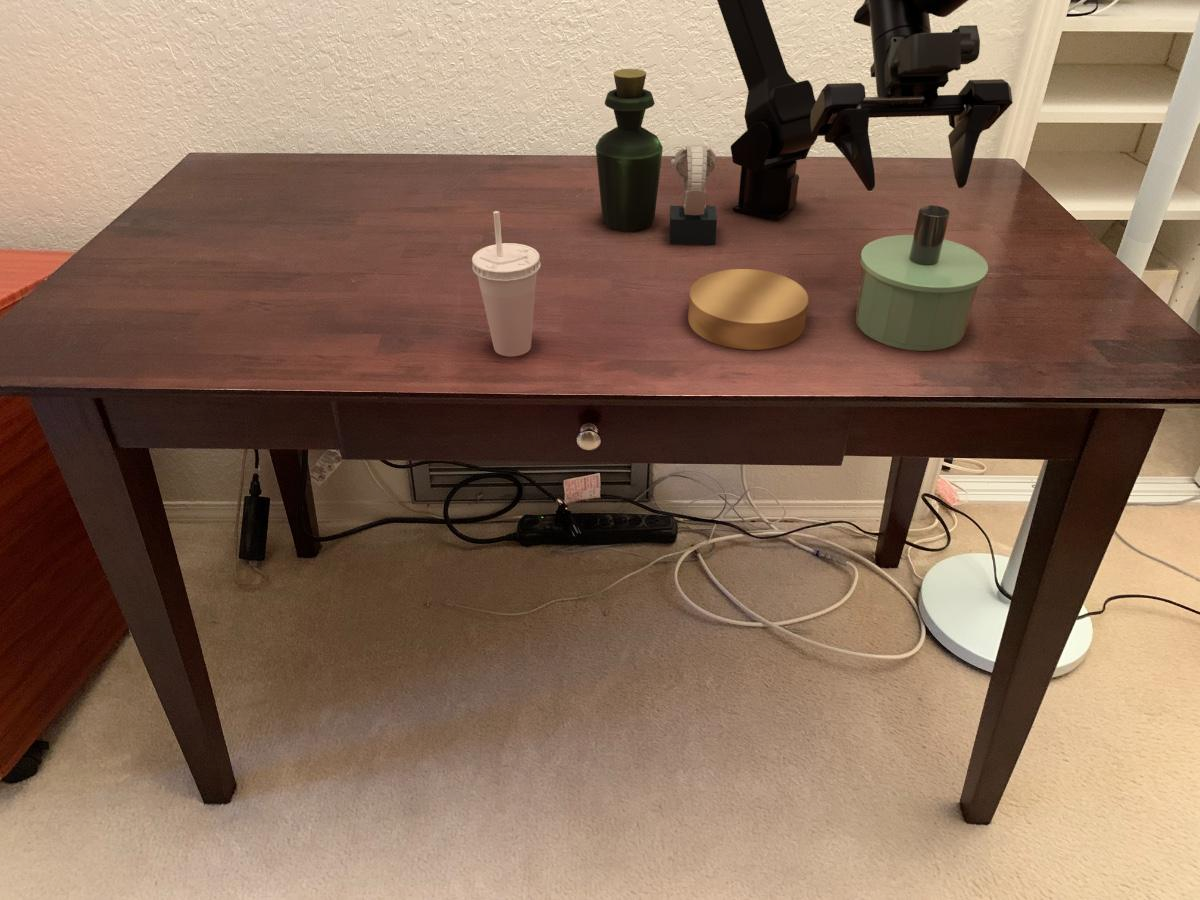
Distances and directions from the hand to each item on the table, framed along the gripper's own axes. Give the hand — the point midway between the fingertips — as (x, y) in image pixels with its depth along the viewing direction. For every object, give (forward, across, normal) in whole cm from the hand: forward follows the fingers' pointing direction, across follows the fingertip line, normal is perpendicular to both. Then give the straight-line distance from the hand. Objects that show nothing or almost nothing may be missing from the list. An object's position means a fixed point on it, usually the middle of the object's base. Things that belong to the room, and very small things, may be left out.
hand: (917, 187), depth 90 cm
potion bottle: (-8, -27, +26) cm, 38 cm away
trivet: (+11, -17, +6) cm, 21 cm away
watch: (-4, -19, +22) cm, 29 cm away
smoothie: (+14, -41, +4) cm, 43 cm away
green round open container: (+13, 0, +5) cm, 14 cm away
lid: (+8, 0, 0) cm, 8 cm away
